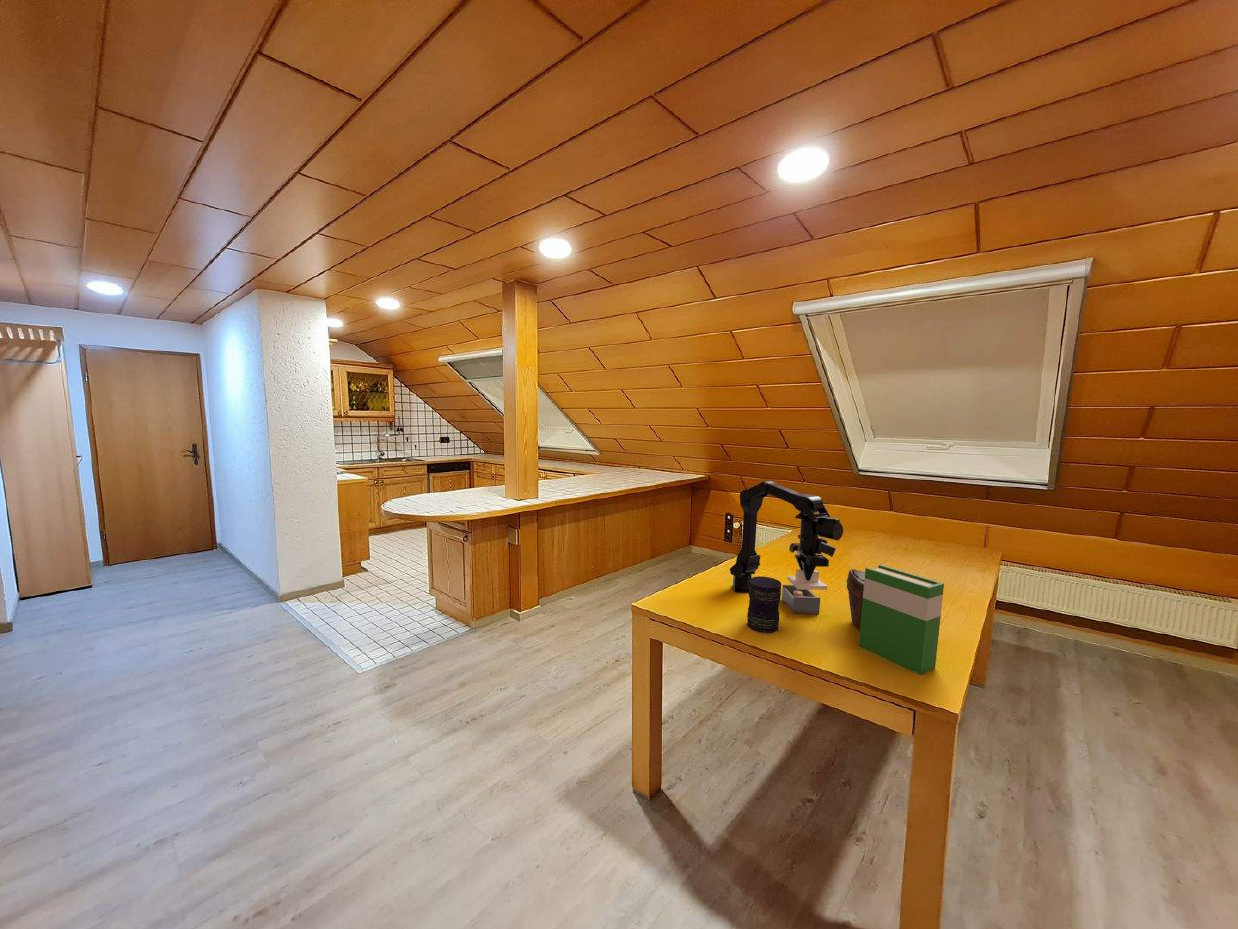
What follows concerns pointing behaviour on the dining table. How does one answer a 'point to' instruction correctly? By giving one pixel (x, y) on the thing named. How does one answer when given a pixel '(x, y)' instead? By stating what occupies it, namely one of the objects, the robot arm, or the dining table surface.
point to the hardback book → (901, 617)
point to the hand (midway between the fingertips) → (806, 579)
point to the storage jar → (764, 604)
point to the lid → (802, 583)
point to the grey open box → (800, 600)
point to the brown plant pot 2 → (856, 595)
